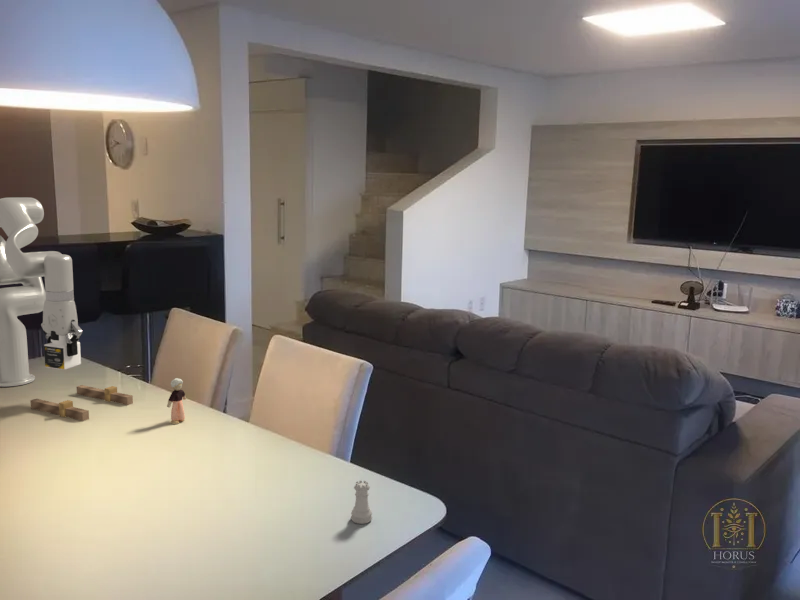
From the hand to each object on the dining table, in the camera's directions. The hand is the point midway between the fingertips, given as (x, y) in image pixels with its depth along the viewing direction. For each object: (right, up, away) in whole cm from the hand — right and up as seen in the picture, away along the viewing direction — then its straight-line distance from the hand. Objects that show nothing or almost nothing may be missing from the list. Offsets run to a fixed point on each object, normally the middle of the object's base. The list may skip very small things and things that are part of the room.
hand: (62, 353), depth 208 cm
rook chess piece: (+94, -29, -66) cm, 119 cm away
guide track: (+6, -16, -1) cm, 17 cm away
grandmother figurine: (+39, -19, -12) cm, 44 cm away
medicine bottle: (0, -4, +1) cm, 4 cm away
